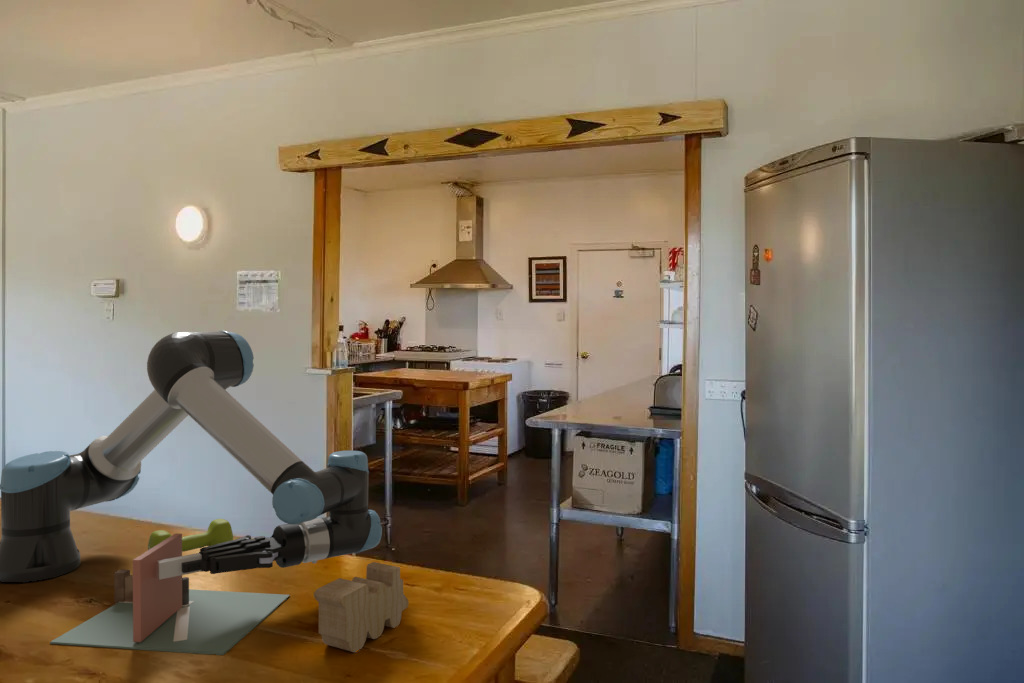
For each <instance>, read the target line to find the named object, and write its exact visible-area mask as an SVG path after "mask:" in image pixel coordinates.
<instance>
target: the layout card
mask: <svg viewBox="0 0 1024 683" xmlns="http://www.w3.org/2000/svg"><path fill="white" fill-rule="evenodd" d="M289 596H290V597H291V595H290V594H281V593H280V594H279V593H277V594H276V593H265V592H264V593H261V592H246V591H244V592H243V591H227V590H207V589H206V590H205V589H192V588H191V589H190V588H189V604H186V605H182V607H181V608H180V609H179V610H178V611H176V612H175V613H174V614H173V615H172V616H171V617H170V618H168V619H167V620H166V621H165V622H164V623H163V624H161V625H160V626H159V627H158V628H157V629H156V630H154V631H153V632H152V633H151V634H150V635H149V636H147V637H146V638H145V639H144V640H143V641H142V642H133V602H118V603H114V604H113V605H112V606H109V607H107V609H104V610H103V611H101V612H98V614H96V615H94V616H93V617H91V618H89V619H88V620H85V621H83V622H81V623H80V624H77V626H75V627H73V628H71V629H70V630H69V631H66V632H64V633H63V634H62V635H60V636H58V637H56V638H55V639H52V640H51V641H50V643H49V644H50V645H63V646H78V647H79V646H80V647H92V648H93V647H96V648H111V649H121V650H122V649H123V650H124V649H125V650H127V649H128V650H137V651H138V650H140V651H141V650H142V651H153V652H155V651H157V652H168V653H169V652H170V653H184V654H197V653H198V654H199V655H212V654H216V656H224V655H225V654H227V652H229V651H230V650H231V649H232V648H233V647H234V646H235V645H236V644H238V643H239V642H240V641H241V640H242V639H243V638H244V637H246V636H247V635H248V634H249V633H250V632H251V631H252V630H253V629H255V628H256V627H257V626H258V625H259V624H260V623H262V621H264V620H265V619H266V618H268V617H269V616H270V615H271V614H272V613H273V612H274V611H275V610H276V609H278V608H279V607H280V606H281V605H282V604H283V603H284V602H285V601H287V600H288V599H289V598H290V597H289ZM288 597H289V598H288ZM287 598H288V599H287ZM284 600H285V601H284ZM283 601H284V602H283ZM282 602H283V603H282ZM281 603H282V604H281ZM280 604H281V605H280ZM279 605H280V606H279ZM278 606H279V607H278ZM198 654H197V655H198Z"/></svg>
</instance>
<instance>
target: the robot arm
mask: <svg viewBox="0 0 1024 683" xmlns="http://www.w3.org/2000/svg"><path fill="white" fill-rule="evenodd" d="M254 359H255V358H254V353H253V349H252V348H251V346H250V344H249V342H248V340H247V339H246V338H244V337H243V336H242V335H241V334H239V333H237V332H234V331H226V330H218V331H216V330H215V331H214V330H212V331H178V332H172V333H169V334H168V335H167V334H166V336H163V337H161V339H159V340H158V341H157V342H156V343H155V344H154V345H153V347H152V348H151V349H150V352H149V354H148V357H147V361H146V371H147V376H148V379H149V381H150V384H151V385H152V387H153V388H154V390H152V392H151V393H150V394H149V395H147V397H146V398H145V399H143V401H142V402H141V403H140V404H139V405H138V406H137V407H136V408H135V409H134V410H133V411H132V412H131V413H130V414H128V416H127V417H126V418H125V419H123V421H122V422H121V423H120V424H119V425H118V426H117V427H116V428H115V429H114V430H113V431H112V432H110V434H109V435H102V436H99V437H97V438H95V439H94V440H92V442H90V444H88V445H87V446H86V448H84V449H83V450H82V451H80V452H78V453H74V454H71V455H70V454H69V453H67V451H60V450H54V451H51V450H50V451H43V452H39V453H38V452H37V453H30V454H27V455H24V456H21V457H18V458H14V459H12V460H10V461H9V462H7V463H5V465H4V466H3V468H2V469H1V477H0V505H1V506H0V510H1V512H0V513H1V516H0V518H1V520H0V522H1V538H0V581H1V582H23V583H30V582H29V581H32V582H38V581H37V580H39V581H43V579H44V580H47V579H48V578H49V579H51V578H56V577H60V576H63V575H65V574H68V573H70V572H72V571H74V570H76V569H77V568H79V567H80V565H81V552H80V549H79V548H78V547H77V544H76V540H75V537H74V534H73V532H72V529H71V512H73V511H75V510H79V509H82V508H87V507H90V506H93V505H97V504H98V505H99V504H102V503H104V502H105V503H106V502H113V501H115V500H119V499H120V498H122V497H124V496H126V495H128V494H129V493H131V492H132V491H133V490H134V489H135V488H136V486H137V485H138V482H139V480H140V476H139V475H140V474H141V472H142V471H141V470H142V461H143V459H145V458H146V457H147V456H148V455H149V454H150V453H151V452H153V450H154V449H155V448H156V447H157V446H158V445H159V444H161V442H162V441H164V439H165V438H166V437H167V436H168V435H169V434H171V433H172V432H173V430H174V429H176V428H177V427H178V426H179V425H180V424H181V423H182V422H183V421H184V420H185V419H186V418H187V417H188V416H189V417H190V418H191V419H192V420H193V421H194V422H195V423H197V425H199V427H201V428H202V429H203V430H204V432H206V433H207V434H208V435H209V436H210V437H211V438H212V439H214V441H216V443H218V444H219V445H220V446H221V447H222V448H223V449H224V450H225V451H226V452H227V453H228V454H229V455H230V456H231V457H233V459H235V460H236V461H237V462H238V463H239V464H240V465H241V466H242V467H243V468H244V469H245V470H246V471H247V472H249V473H250V475H252V476H253V478H255V480H257V481H258V482H259V483H260V484H261V485H262V486H263V487H264V488H265V489H267V490H268V492H270V493H271V495H272V499H271V500H272V502H271V503H272V504H271V505H272V508H273V509H274V512H275V516H276V517H277V519H279V520H280V521H281V522H283V523H284V524H280V525H277V526H275V528H274V529H273V533H272V535H271V536H270V537H267V536H264V535H261V536H256V537H254V538H252V535H250V534H249V535H248V534H246V535H244V536H241V537H239V538H236V539H233V540H231V541H227V542H223V543H219V544H216V545H212V546H205V547H202V548H199V552H197V553H196V552H195V553H191V554H186V555H182V556H180V557H174V558H169V559H163V560H158V561H157V577H158V579H159V580H160V579H165V578H170V577H175V576H180V575H182V576H184V575H190V574H194V573H200V572H203V573H204V572H205V573H206V572H209V574H210V575H215V574H222V573H223V574H224V573H231V572H239V571H245V570H246V571H247V570H254V569H264V568H265V569H271V568H273V563H274V562H275V563H276V565H277V566H278V567H280V568H290V567H294V566H298V565H300V564H302V563H303V564H307V563H310V562H311V563H312V564H317V563H318V561H320V560H325V559H331V558H335V557H340V556H345V555H346V556H347V555H350V554H359V553H361V552H366V551H368V550H371V549H374V548H375V547H377V546H378V545H379V544H380V542H381V539H382V535H383V534H382V533H383V526H382V525H381V518H380V516H379V514H378V513H377V512H376V510H373V509H369V475H370V471H369V460H368V456H367V453H365V452H363V451H360V450H340V451H334V452H332V453H330V454H329V456H328V458H327V460H328V461H327V464H326V468H323V469H320V470H318V471H314V470H313V469H312V468H311V467H310V466H309V465H308V464H306V463H305V462H304V461H303V460H302V459H301V458H300V457H299V456H298V455H297V454H295V453H294V452H293V451H292V450H291V449H290V448H289V447H288V446H287V445H285V443H284V442H282V441H281V440H280V439H279V438H278V437H277V436H276V435H275V434H273V433H272V432H271V431H270V430H269V429H268V428H267V427H266V426H265V425H264V424H263V423H262V422H261V421H259V420H258V419H257V418H256V416H254V415H253V413H251V412H250V411H249V410H248V409H247V408H245V407H244V406H243V405H242V404H241V403H240V402H239V401H238V400H237V399H236V398H234V397H233V395H231V394H230V392H228V390H227V389H228V388H230V387H232V388H236V387H239V386H240V385H244V384H245V383H246V382H247V381H248V380H249V379H250V378H251V376H252V373H253V372H254ZM326 513H328V516H326V517H319V516H322V515H324V514H326ZM1 582H0V583H1Z"/></svg>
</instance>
